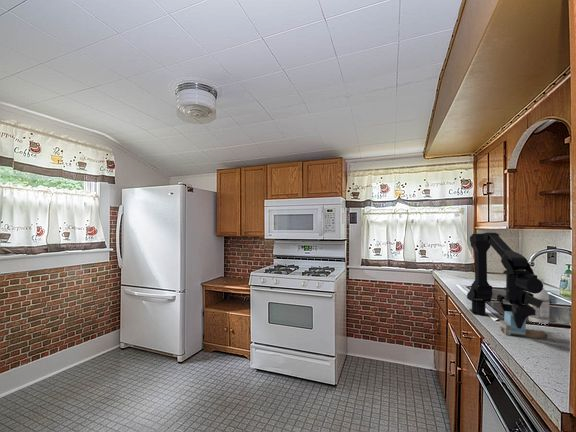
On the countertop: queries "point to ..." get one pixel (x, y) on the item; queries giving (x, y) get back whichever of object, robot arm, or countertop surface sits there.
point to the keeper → (514, 324)
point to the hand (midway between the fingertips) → (514, 324)
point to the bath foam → (541, 307)
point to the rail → (529, 333)
